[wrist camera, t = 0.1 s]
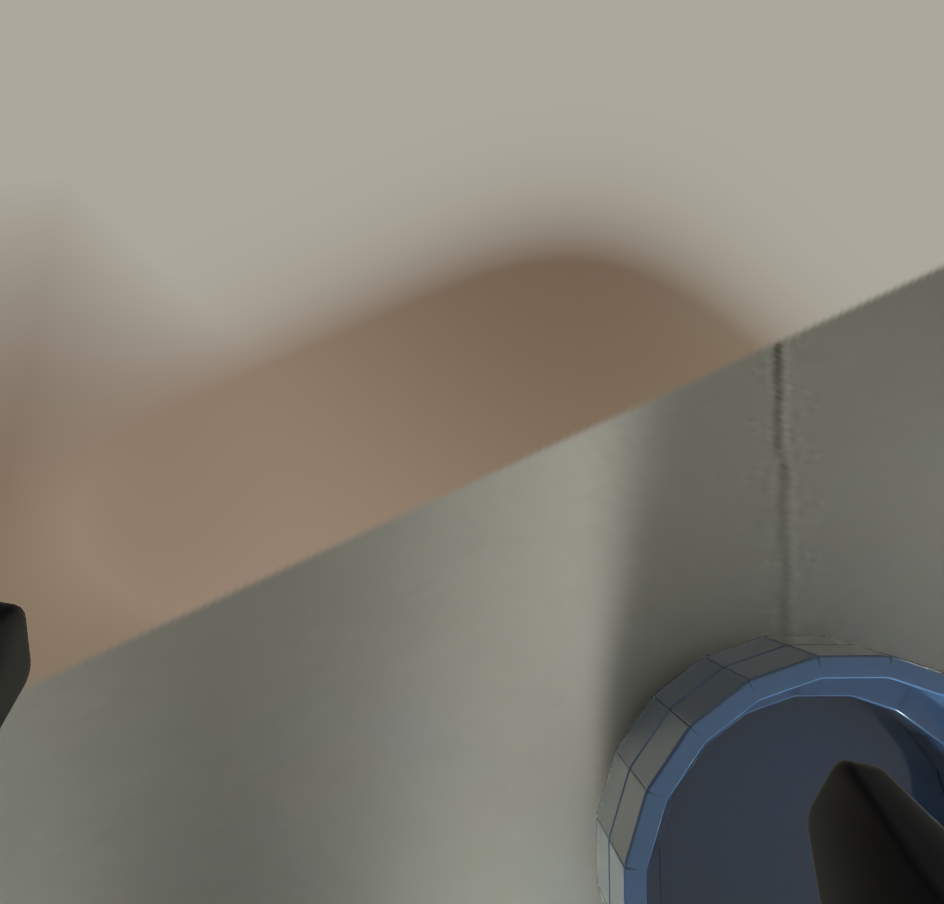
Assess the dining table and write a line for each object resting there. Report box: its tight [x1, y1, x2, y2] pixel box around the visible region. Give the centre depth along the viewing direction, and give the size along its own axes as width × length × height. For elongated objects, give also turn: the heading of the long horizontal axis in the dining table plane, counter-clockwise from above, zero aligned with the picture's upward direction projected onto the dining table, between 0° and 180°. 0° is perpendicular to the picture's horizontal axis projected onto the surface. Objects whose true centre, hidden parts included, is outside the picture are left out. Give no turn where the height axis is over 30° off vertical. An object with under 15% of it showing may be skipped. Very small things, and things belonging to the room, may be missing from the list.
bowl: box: [596, 636, 944, 904], centre depth 21 cm, size 12×12×4 cm
